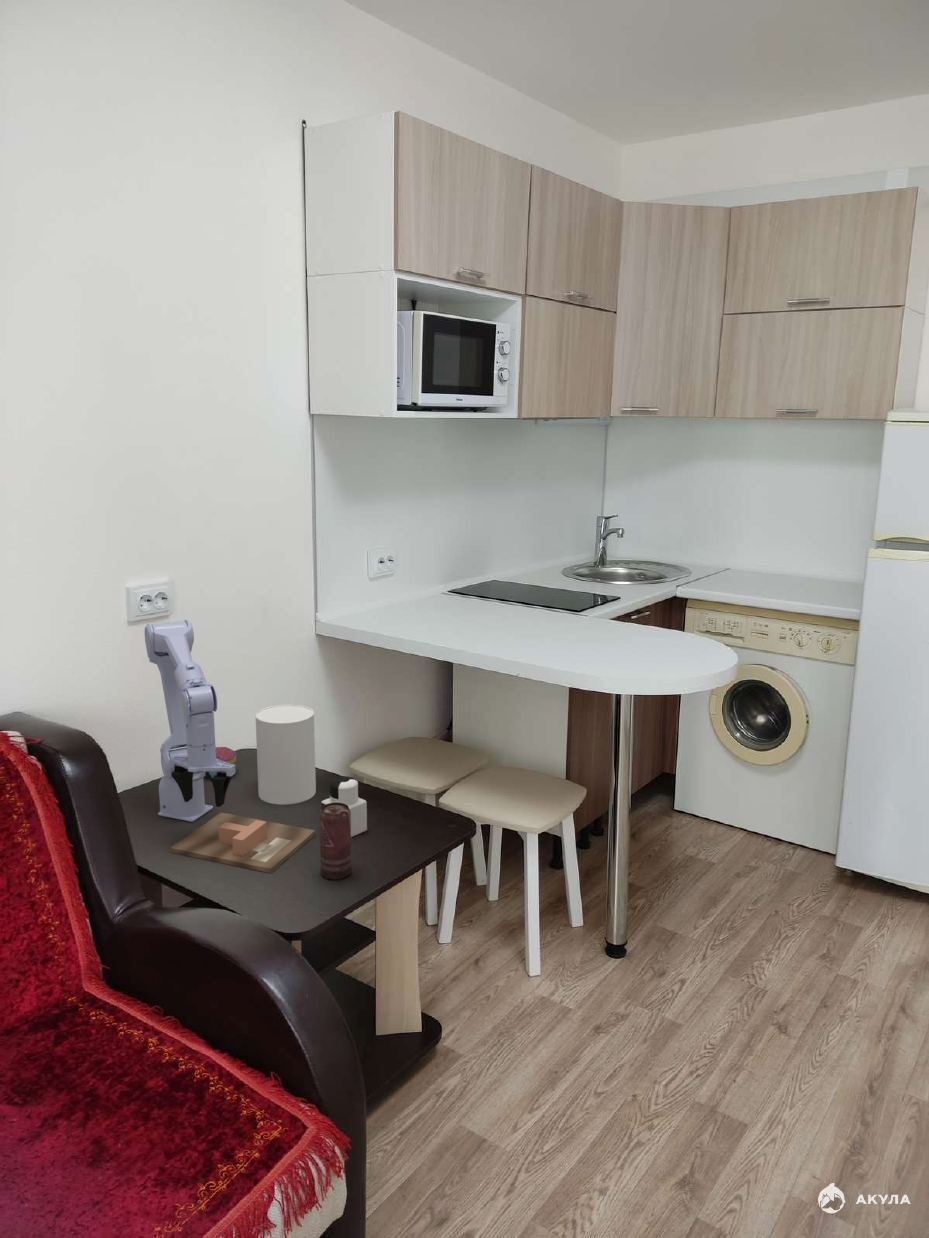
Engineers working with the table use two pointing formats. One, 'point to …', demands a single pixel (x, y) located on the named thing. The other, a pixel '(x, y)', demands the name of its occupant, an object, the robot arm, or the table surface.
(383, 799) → the table surface
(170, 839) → the table surface
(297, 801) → the canister
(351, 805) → the medicine bottle
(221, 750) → the cupcake
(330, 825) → the can
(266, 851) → the board
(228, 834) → the t block
